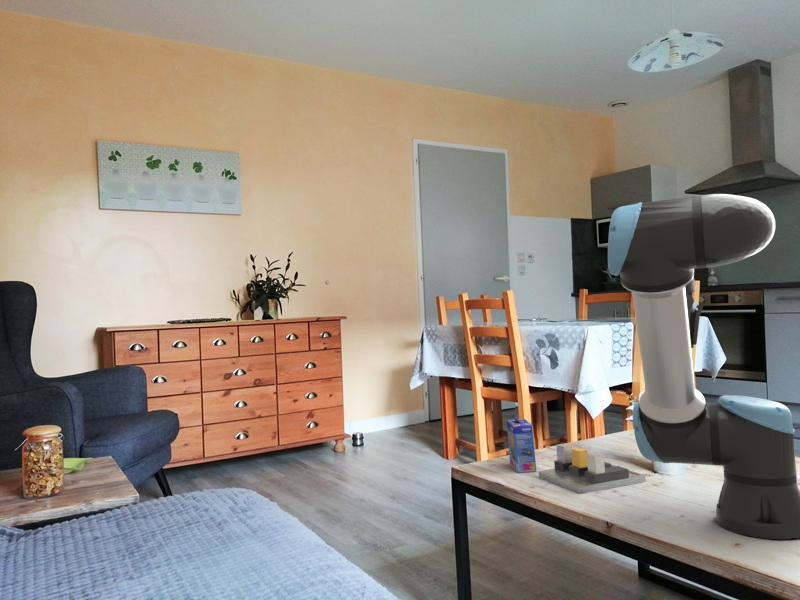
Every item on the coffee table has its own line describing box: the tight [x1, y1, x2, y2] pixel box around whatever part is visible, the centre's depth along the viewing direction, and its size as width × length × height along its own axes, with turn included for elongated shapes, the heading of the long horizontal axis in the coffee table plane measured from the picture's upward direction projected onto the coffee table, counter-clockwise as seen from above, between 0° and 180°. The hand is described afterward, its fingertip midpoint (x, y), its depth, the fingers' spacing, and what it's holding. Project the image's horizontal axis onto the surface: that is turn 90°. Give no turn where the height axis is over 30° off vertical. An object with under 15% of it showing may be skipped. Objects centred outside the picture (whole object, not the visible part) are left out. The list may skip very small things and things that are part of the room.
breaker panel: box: [538, 443, 647, 495], centre depth 145 cm, size 16×19×8 cm
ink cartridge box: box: [506, 412, 538, 474], centre depth 159 cm, size 10×6×14 cm, turn 1°
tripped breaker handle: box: [571, 447, 589, 468], centre depth 144 cm, size 3×2×4 cm
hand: (683, 376), depth 141 cm, fingers closed
